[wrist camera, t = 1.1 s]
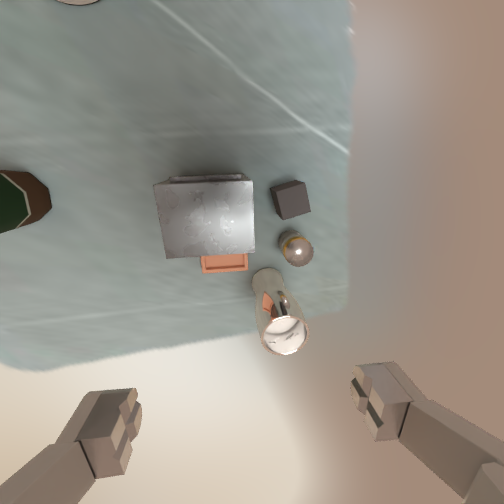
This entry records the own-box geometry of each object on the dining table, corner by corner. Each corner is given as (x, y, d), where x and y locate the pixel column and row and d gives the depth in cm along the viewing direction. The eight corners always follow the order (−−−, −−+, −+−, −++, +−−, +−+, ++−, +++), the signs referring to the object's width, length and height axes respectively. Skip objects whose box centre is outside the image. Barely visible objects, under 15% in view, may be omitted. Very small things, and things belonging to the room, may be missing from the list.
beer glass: (292, 278, 45) (321, 330, 31) (269, 303, 46) (287, 364, 33) (264, 258, 43) (283, 305, 29) (241, 285, 44) (248, 342, 31)
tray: (198, 226, 39) (197, 229, 38) (245, 223, 40) (246, 226, 38) (203, 268, 42) (202, 273, 41) (247, 265, 43) (248, 270, 41)
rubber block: (269, 188, 38) (276, 192, 34) (295, 180, 38) (305, 182, 34) (276, 213, 40) (283, 220, 35) (300, 205, 40) (310, 211, 35)
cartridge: (277, 230, 41) (285, 241, 36) (303, 228, 41) (315, 239, 36) (277, 254, 43) (285, 268, 37) (301, 252, 43) (313, 266, 38)
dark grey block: (178, 172, 36) (152, 179, 23) (243, 170, 37) (252, 175, 24) (186, 228, 39) (167, 262, 26) (245, 225, 40) (254, 256, 27)
